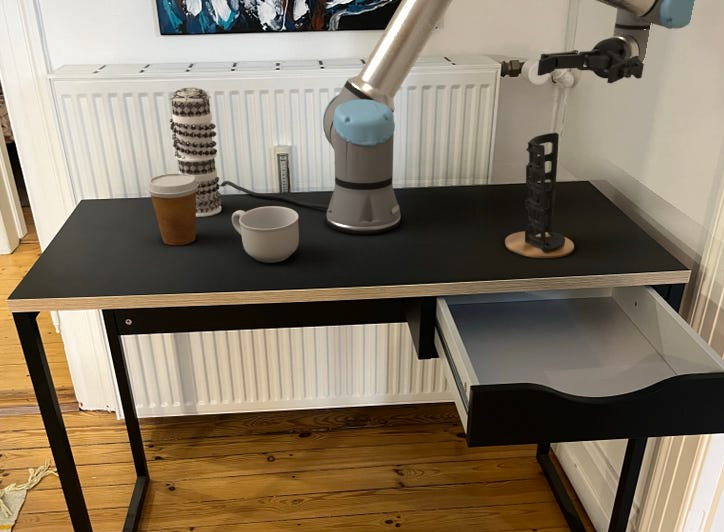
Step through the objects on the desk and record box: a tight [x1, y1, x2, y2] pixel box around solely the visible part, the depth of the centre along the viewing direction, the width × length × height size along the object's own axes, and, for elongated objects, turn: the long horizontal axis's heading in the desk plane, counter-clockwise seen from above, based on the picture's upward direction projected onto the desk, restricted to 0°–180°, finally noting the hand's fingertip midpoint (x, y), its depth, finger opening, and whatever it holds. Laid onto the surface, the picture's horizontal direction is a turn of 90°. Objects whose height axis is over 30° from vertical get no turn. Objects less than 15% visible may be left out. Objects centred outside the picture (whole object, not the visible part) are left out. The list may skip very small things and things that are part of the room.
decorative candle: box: [169, 87, 222, 218], centre depth 159 cm, size 9×9×25 cm
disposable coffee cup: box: [146, 172, 198, 246], centre depth 147 cm, size 10×10×12 cm
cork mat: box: [504, 230, 575, 259], centre depth 147 cm, size 13×13×1 cm
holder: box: [524, 132, 566, 253], centre depth 142 cm, size 11×8×20 cm
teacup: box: [231, 205, 300, 264], centre depth 141 cm, size 14×11×8 cm
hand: (574, 71), depth 141 cm, fingers open, 13 cm apart
